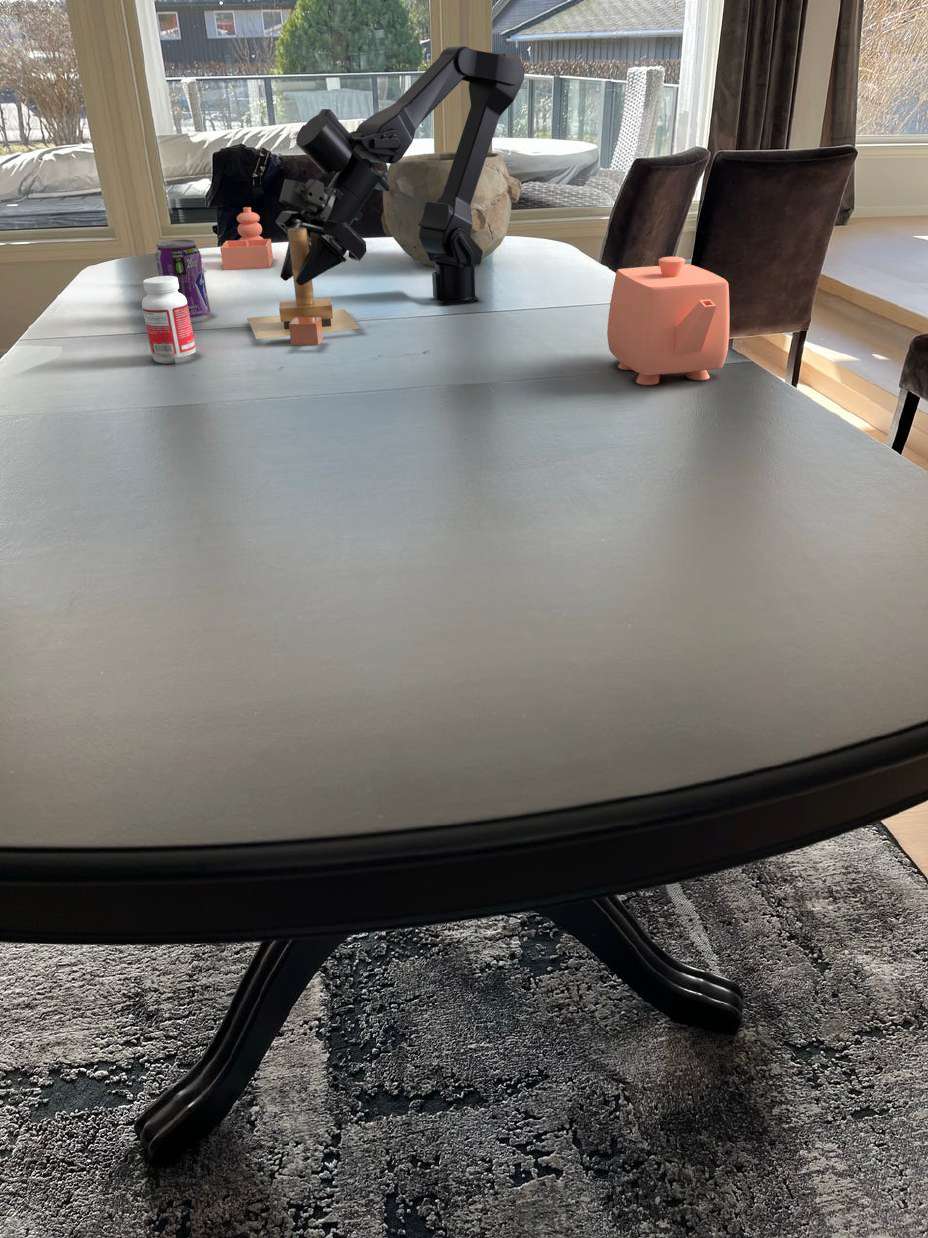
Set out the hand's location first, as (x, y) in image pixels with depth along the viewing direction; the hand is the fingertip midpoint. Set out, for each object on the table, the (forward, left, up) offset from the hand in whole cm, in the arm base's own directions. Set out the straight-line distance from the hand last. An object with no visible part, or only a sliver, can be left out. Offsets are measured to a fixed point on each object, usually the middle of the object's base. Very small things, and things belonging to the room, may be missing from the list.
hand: (290, 281), depth 144 cm
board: (-1, -1, -8) cm, 8 cm away
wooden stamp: (-2, 0, -7) cm, 7 cm away
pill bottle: (+19, +9, -8) cm, 22 cm away
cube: (0, +10, -8) cm, 13 cm away
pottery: (+1, -66, -8) cm, 67 cm away
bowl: (-37, -44, -8) cm, 59 cm away
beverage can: (+16, -16, -8) cm, 24 cm away
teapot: (-43, +41, -8) cm, 60 cm away
